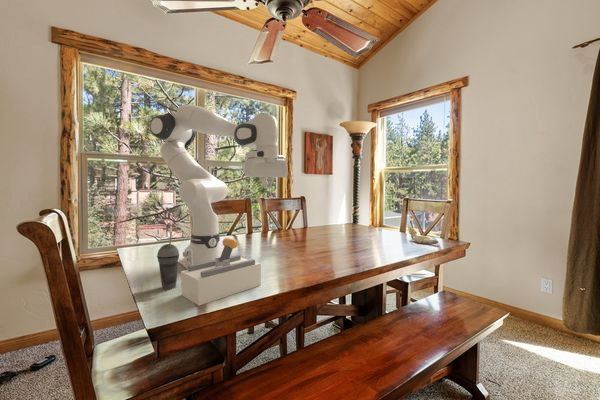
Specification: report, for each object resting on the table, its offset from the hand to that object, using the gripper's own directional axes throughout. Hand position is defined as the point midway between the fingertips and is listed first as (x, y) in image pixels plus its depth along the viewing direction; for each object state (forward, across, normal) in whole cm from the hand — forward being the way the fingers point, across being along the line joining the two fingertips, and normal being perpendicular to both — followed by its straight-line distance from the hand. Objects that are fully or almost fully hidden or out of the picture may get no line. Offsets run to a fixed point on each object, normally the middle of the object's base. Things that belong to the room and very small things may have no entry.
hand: (267, 188), depth 116 cm
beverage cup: (+35, +36, -12) cm, 51 cm away
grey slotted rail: (+27, +23, +4) cm, 36 cm away
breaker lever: (+26, +23, +4) cm, 35 cm away
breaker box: (+35, +23, +4) cm, 42 cm away
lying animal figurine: (+36, -104, +22) cm, 112 cm away
